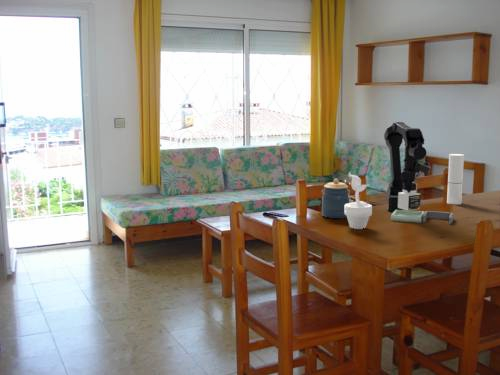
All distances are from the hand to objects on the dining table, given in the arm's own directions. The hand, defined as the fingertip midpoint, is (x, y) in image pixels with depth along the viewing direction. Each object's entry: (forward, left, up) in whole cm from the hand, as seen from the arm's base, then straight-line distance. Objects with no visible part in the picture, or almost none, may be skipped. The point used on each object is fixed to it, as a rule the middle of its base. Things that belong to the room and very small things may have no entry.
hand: (409, 191), depth 267 cm
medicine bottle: (0, 0, -8) cm, 8 cm away
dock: (+13, 0, -13) cm, 18 cm away
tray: (0, 0, -13) cm, 13 cm away
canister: (-32, -6, -13) cm, 35 cm away
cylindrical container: (+17, +46, -13) cm, 51 cm away
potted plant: (-17, -26, -13) cm, 34 cm away
